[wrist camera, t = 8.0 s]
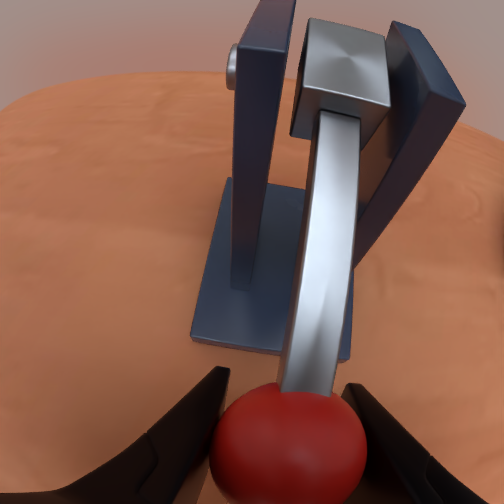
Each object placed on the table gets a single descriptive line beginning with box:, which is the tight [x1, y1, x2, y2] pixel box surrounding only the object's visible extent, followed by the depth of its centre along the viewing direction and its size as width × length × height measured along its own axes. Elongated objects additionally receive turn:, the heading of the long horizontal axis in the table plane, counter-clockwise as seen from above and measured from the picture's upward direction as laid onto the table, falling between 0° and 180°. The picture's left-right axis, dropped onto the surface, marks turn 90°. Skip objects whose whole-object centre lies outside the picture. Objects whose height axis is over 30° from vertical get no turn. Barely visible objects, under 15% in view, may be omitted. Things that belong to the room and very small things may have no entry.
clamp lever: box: [209, 18, 391, 504], centre depth 7 cm, size 13×4×4 cm, turn 171°
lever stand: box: [190, 0, 466, 363], centre depth 12 cm, size 10×8×14 cm
